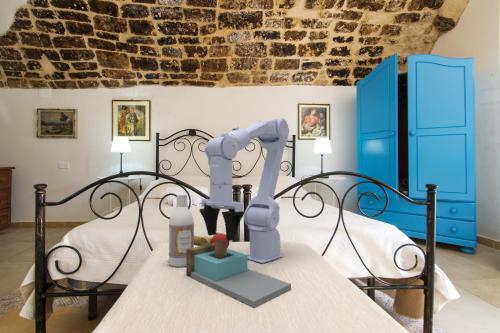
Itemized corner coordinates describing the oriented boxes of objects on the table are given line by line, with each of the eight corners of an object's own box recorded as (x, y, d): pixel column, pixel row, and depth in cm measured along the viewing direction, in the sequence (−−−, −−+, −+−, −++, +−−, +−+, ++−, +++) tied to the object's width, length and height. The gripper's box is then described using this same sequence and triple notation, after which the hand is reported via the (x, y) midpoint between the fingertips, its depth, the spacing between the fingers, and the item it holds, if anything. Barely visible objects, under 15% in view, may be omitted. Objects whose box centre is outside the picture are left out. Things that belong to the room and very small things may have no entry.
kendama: (183, 249, 99) (216, 252, 87) (184, 231, 101) (217, 231, 89) (200, 249, 105) (234, 251, 93) (201, 232, 106) (234, 232, 94)
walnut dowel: (222, 265, 72) (222, 239, 73) (229, 269, 70) (229, 241, 70) (212, 268, 70) (212, 240, 71) (219, 271, 68) (219, 243, 68)
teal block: (224, 262, 77) (224, 247, 77) (247, 270, 70) (247, 254, 71) (194, 271, 70) (194, 255, 70) (216, 281, 63) (216, 263, 64)
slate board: (222, 264, 79) (222, 260, 79) (291, 289, 62) (290, 284, 62) (186, 275, 70) (186, 270, 71) (253, 307, 54) (253, 301, 54)
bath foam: (172, 269, 75) (172, 195, 75) (166, 262, 81) (167, 193, 81) (196, 265, 78) (197, 194, 79) (189, 258, 84) (190, 192, 85)
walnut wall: (222, 264, 79) (222, 241, 79) (227, 265, 78) (227, 242, 78) (186, 275, 70) (186, 249, 71) (190, 277, 69) (190, 250, 69)
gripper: (191, 183, 73) (191, 235, 73) (227, 185, 63) (227, 245, 62) (213, 182, 78) (213, 231, 78) (249, 184, 68) (249, 240, 67)
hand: (221, 237), depth 70 cm, fingers open, 7 cm apart
